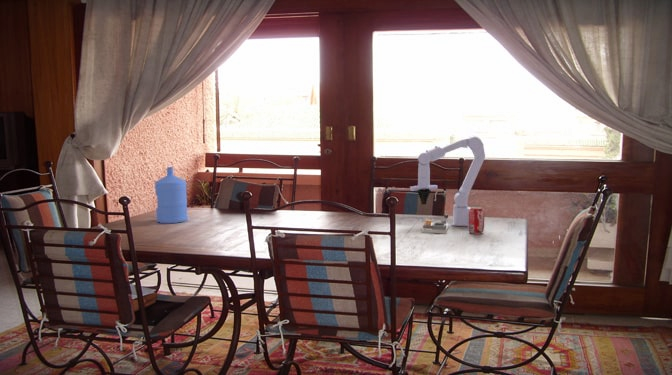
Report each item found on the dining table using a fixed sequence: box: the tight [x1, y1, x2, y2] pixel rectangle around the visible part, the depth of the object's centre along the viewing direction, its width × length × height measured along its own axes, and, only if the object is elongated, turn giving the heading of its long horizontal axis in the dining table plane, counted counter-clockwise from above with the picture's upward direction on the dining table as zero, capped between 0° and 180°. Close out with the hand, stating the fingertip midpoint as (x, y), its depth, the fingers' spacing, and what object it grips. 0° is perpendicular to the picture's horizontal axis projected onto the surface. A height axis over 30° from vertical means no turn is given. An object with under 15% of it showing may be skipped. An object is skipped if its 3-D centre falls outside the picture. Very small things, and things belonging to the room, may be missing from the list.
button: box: [435, 221, 444, 226], centre depth 291 cm, size 4×4×2 cm
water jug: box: [154, 166, 189, 224], centre depth 322 cm, size 16×16×28 cm
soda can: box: [467, 205, 485, 235], centre depth 286 cm, size 7×7×12 cm
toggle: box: [442, 213, 449, 222], centre depth 299 cm, size 2×2×5 cm
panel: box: [421, 219, 449, 234], centre depth 296 cm, size 11×17×4 cm, turn 166°
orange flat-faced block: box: [425, 219, 432, 226], centre depth 293 cm, size 2×3×3 cm
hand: (423, 204), depth 309 cm, fingers closed
